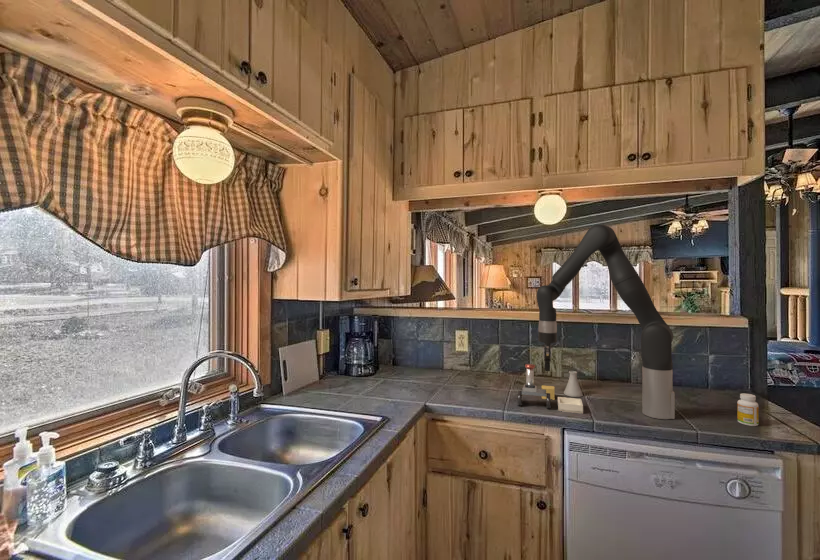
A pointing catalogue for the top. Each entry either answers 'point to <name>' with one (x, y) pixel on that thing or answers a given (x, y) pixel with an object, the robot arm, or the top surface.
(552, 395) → the block
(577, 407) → the tray
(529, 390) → the trolley
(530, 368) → the pin
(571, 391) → the flask
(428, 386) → the top surface
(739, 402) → the supplement bottle
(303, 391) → the top surface
